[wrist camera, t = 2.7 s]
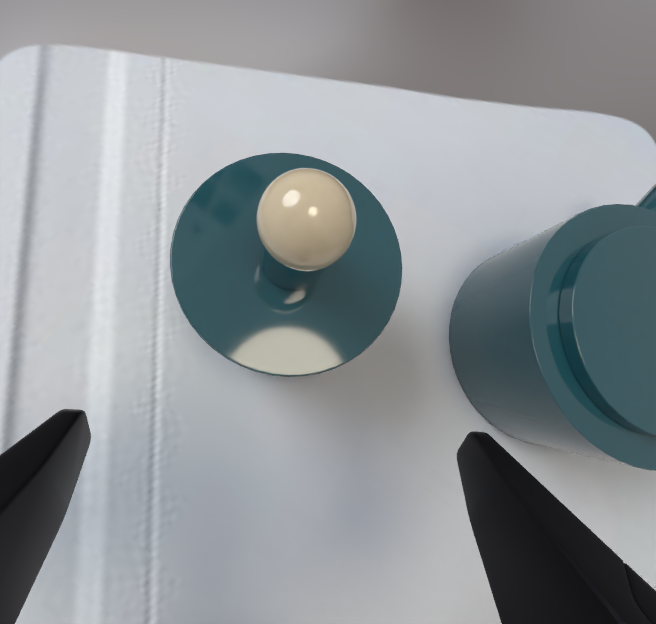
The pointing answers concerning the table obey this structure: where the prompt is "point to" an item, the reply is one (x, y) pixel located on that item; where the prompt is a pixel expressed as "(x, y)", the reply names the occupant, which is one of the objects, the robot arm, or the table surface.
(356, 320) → the teapot lid
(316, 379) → the table surface
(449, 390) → the table surface
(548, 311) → the teapot
